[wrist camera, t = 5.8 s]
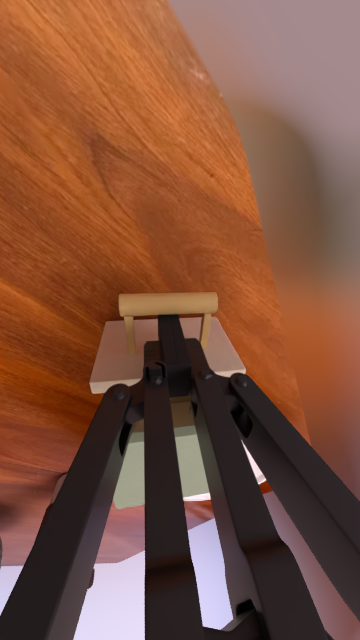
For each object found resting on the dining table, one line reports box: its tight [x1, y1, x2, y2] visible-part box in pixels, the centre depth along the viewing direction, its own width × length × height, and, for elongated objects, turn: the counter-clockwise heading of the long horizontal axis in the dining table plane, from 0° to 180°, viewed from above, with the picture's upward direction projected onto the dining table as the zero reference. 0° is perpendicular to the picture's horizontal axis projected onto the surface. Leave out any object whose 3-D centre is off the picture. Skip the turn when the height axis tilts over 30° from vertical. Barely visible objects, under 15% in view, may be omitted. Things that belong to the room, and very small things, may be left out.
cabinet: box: [113, 425, 209, 509], centre depth 26 cm, size 15×13×10 cm
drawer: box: [89, 292, 246, 433], centre depth 20 cm, size 19×12×8 cm, turn 177°
